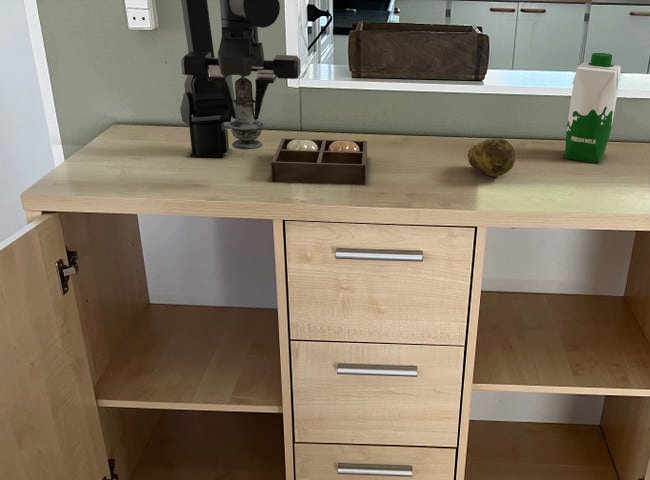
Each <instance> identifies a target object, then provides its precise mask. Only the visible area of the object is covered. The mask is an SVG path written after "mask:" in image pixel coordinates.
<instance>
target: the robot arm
mask: <svg viewBox="0 0 650 480" xmlns="http://www.w3.org/2000/svg"><path fill="white" fill-rule="evenodd" d="M180 2H181V9H182V10H181V11H182V16H183V17H182V18H183V24H184V29H185V30H184V31H185V38H186V46H187V51H188V52H187V53H186V54H185V55H184V56H183V57H182V58H181V62H180V66H181V74H182V75H184V76H186V79H185V80H184V84H183V86H184V93H183V97H182V99H181V105H180V108H179V111H180V112H179V113H180V116H181V121H182V123H184V124H186V125H187V126H188V128H189V137H190V148H191V151H190V153H189V157H193V158H194V157H195V158H196V157H197V158H224V157H225V155H226V154H227V152H228V150H229V149H230V144H229V143H230V142H229V130H228V127H226V126H225V123H230V122H232V119H233V120H235V118H236V104H235V103H234V100H236V96H235V91H234V90H235V89H234V84H233V83H234V81H233V76H240V77H242V76H244V77H248V76H250V75H252V72H257V73H256V74H257V75H258V76H257V77H256V79H254V80H255V95H254V96H255V97H254V100H255V103H254V115H255V119H256V120H257V121H259V117H260V113H261V109H262V106H263V102H264V99H265V95H266V92H267V90H268V86H269V84H274V83H275V82H276V80H277V79H283V80H298V79H299V78H300V76H301V73H302V71H301V69H302V67H301V59H300V57H299V56H298V55H291V54H290V55H289V54H276V55H275V57H274V58H273V59H265V51H264V46H263V42H260V41H259V28H260V29H265V28H268V27H270V26H272V25H273V24H274V23H275V22H276V21H277V19H278V17H279V15H280V12H281V5H280V4H281V3H280V0H219V10H220V24H221V25H220V26H221V39H220V43H219V46H218V51H217V57H216V56H215V51H214V49H215V48H214V42H213V35H212V34H213V33H212V28H211V27H212V26H211V21H210V19H211V18H210V13H209V12H210V11H209V5H208V0H180Z"/></svg>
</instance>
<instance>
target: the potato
mask: <svg viewBox="0 0 650 480" xmlns="http://www.w3.org/2000/svg"><path fill="white" fill-rule="evenodd" d="M516 156H517V155H516V151H515V149H514V147H513V145H512V144H511V143H510V142H509V140H506V139H503V138H499V137H498V138H497V137H489V138H487V139H485V140H483V141H481V142H478V143H477V144H475V145H473V146H471V148H470V149H469V150H468V152H467V161H468V163H469V165H470V166H471V167H472V168H474V170H477V171H479V172H480V173H482V174H483V175H486V176H488V177H494V178H495V177H500V176H503V175H505V174H507V173H508V172H509V171H511V170H512V169H513V167H514V166H515V163H516V159H517V158H516Z"/></svg>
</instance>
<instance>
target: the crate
mask: <svg viewBox="0 0 650 480" xmlns="http://www.w3.org/2000/svg"><path fill="white" fill-rule="evenodd" d="M292 140H310V141H313V142H314V143H315V144H316V145H317V146H318V149H319V151H315V150H286V147H287V145H288V143H289V142H291V141H292ZM335 141H351V142H354V143H356V144H357V145H358V146H359V148H360V152H346V151H328V148H329V146H330V145H331V144H332V143H333V142H335ZM367 162H368V141H367V140H350V139H349V140H347V139H317V138H290V137H289V138H285V137H282V138H281V139H280V141H279V144H278V146H277V149H276V151H275V153H274V155H273V158H272V160H271V162H270V169H271V182H273V183H274V182H275V183H302V184H303V183H307V184H339V185H366V179H367V164H368V163H367Z"/></svg>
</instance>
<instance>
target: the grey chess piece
mask: <svg viewBox="0 0 650 480" xmlns="http://www.w3.org/2000/svg"><path fill="white" fill-rule="evenodd" d="M234 90H235V91H234V94H235V100H234V103H235V104H236V118H235V119H233V121H231V122H228V127H229V128H230V132H231V134H232V136H233V137H234V138H235V139H237V140H235V141H234V142H232V143H231V147H232V148H234V149H237V150H248V151H249V150H257V149H260V148H262V147H263V145H264V144H263V142H261V141H259V140H258V138H259V137H260V136H261V134H262V132H263V127H264V123H263V122H262V121H259V120H256V119H255V99H254V95H253V83H252V81H251V80H250V79H248V78H247V77H246V76H240V78H238V79H235V82H234Z"/></svg>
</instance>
